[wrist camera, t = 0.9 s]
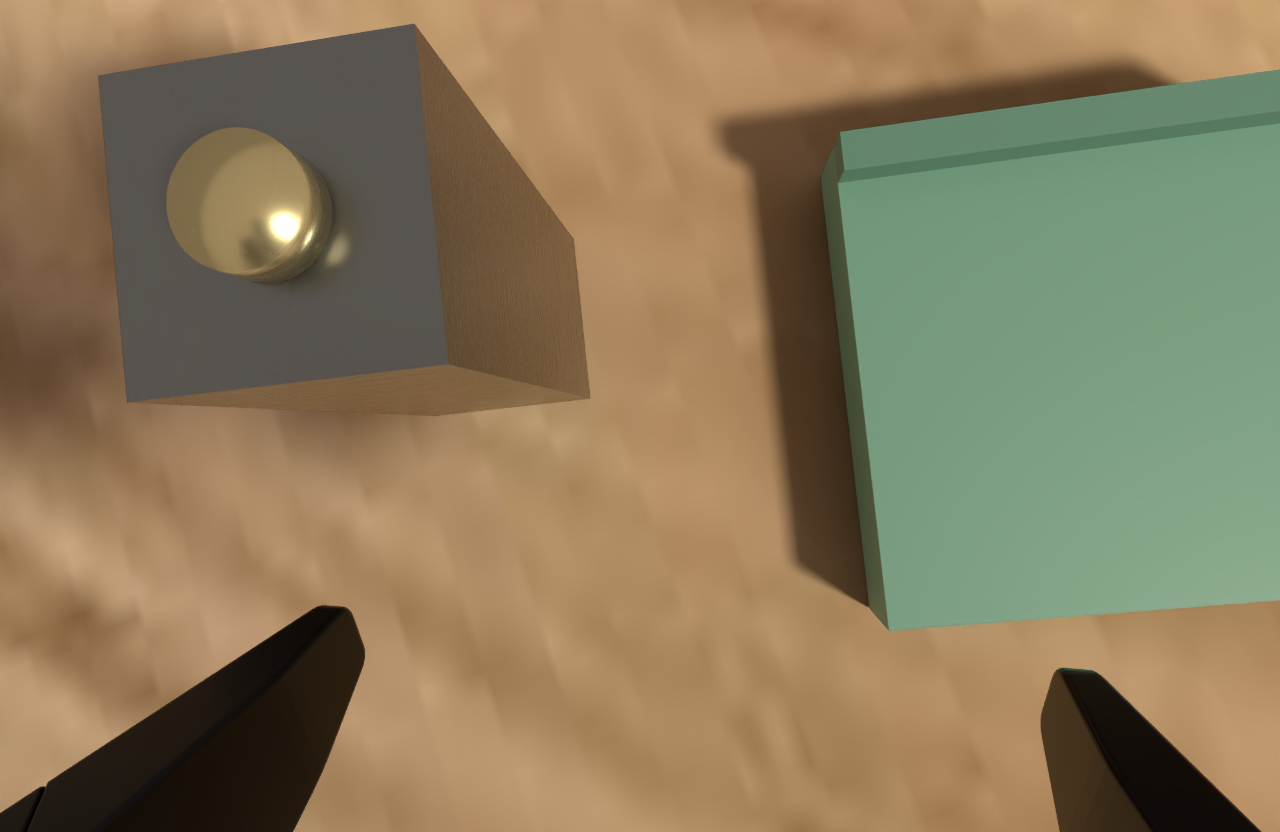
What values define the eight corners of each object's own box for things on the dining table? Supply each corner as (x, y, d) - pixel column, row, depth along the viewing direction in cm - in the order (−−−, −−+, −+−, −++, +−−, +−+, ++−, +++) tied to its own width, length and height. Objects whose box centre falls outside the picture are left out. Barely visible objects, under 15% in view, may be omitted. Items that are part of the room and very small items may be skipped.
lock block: (590, 398, 23) (427, 358, 10) (434, 415, 24) (82, 400, 10) (573, 239, 23) (391, -9, 10) (419, 259, 24) (51, 48, 11)
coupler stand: (1302, 572, 21) (1418, 601, 18) (869, 607, 22) (898, 641, 19) (1244, 119, 21) (1347, 59, 18) (820, 177, 23) (839, 131, 19)
